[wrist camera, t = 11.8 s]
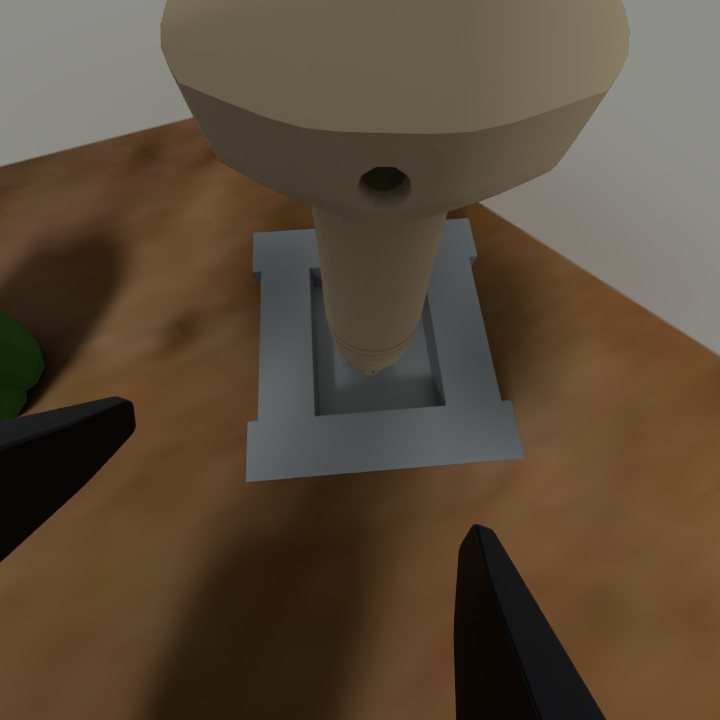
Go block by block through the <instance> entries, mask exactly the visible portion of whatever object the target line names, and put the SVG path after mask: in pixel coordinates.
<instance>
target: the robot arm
mask: <svg viewBox="0 0 720 720" xmlns="http://www.w3.org/2000/svg"><path fill="white" fill-rule="evenodd" d="M135 427H136V422H135V413H134V406H133V403H132V402H131V401H129V400H126V399H124V398H121V397H109V398H105V399H100V400H96V401H91V402H87V403H82V404H78V405H73V406H69V407H64V408H60V409H55V410H50V411H46V412H41V413H37V414H32V415H28V416H23V417H19V418H14V419H10V420H5V421H1V422H0V562H1V561H3V560H4V559H5V558H6V557H7V556H8V555H9V554H10V553H11V552H12V551H13V550H15V549H16V548H17V547H18V546H19V545H20V544H21V543H22V542H23V541H24V540H25V539H27V538H28V537H29V536H30V535H31V534H32V533H33V532H34V531H35V530H36V529H37V528H39V527H40V526H41V525H42V524H43V523H44V522H45V521H46V520H47V519H48V518H50V517H51V516H52V515H53V514H54V513H55V512H56V511H57V510H58V509H59V508H60V507H62V506H63V505H64V504H65V503H66V502H67V501H68V500H69V499H70V498H71V497H72V496H74V495H75V494H76V493H77V492H78V491H79V490H80V489H81V488H82V487H83V486H84V485H85V484H86V483H87V482H88V481H89V480H90V479H91V478H92V477H93V476H94V475H95V474H96V473H97V472H98V471H99V470H100V469H101V467H102V466H103V465H104V464H105V463H106V462H107V461H108V460H109V459H110V458H111V457H112V456H113V455H114V453H115V452H116V451H117V450H118V449H119V448H120V447H121V446H122V445H123V444H124V443H125V442H126V440H127V439H128V438H129V437H130V436H131V435H132V434H133V432H134V430H135ZM454 665H455V698H456V720H606V718H605V717H604V715H603V713H602V712H601V710H600V708H599V707H598V705H597V703H596V702H595V700H594V698H593V697H592V695H591V693H590V692H589V690H588V688H587V687H586V685H585V683H584V681H583V680H582V678H581V676H580V675H579V673H578V671H577V670H576V668H575V666H574V665H573V663H572V661H571V660H570V658H569V656H568V655H567V653H566V651H565V650H564V648H563V646H562V645H561V643H560V641H559V640H558V638H557V636H556V635H555V633H554V631H553V630H552V628H551V626H550V624H549V623H548V621H547V619H546V618H545V616H544V614H543V613H542V611H541V609H540V608H539V606H538V604H537V603H536V601H535V599H534V598H533V596H532V594H531V593H530V591H529V589H528V588H527V586H526V584H525V583H524V581H523V579H522V578H521V576H520V574H519V573H518V571H517V569H516V567H515V566H514V564H513V562H512V561H511V559H510V557H509V556H508V554H507V552H506V551H505V549H504V547H503V546H502V544H501V542H500V541H499V539H498V537H497V536H496V534H495V532H494V531H493V530H492V529H490V528H487V527H485V526H482V525H479V524H474V525H473V526H472V527H471V528H470V530H469V532H468V533H467V535H466V537H465V538H464V540H463V542H462V543H461V546H460V549H459V555H458V569H457V583H456V598H455V612H454Z"/></svg>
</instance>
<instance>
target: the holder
mask: <svg viewBox="0 0 720 720" xmlns="http://www.w3.org/2000/svg"><path fill="white" fill-rule="evenodd" d="M476 258H477V252H476V248H475V244H474V240H473V235H472V231H471V227H470V223H469V218H463V219H449V220H445V224H444V227H443V231H442V235H441V238H440V242H439V246H438V249H437V253H436V257H435V260H434V264H433V268H432V271H431V276H430V280H429V284H428V288H427V292H426V297H425V301H424V305H423V309H422V314H421V317H420V321H419V324H418V326H417V329H416V331H415V334H414V336H413V338H412V340H411V342H410V343H409V345H408V347H407V348H406V350H405V351H404V353H403V354H402V355H401V356H400V358H399V360H398V361H397V363H396V364H395V365H394V366H393V367H387V368H386V369H383V370H381V371H379V372H378V373H377V375H376V376H374V377H366V376H364V375H363V373H362V372H361V371H360V370H359V369H358V368H355V367H354V366H351V365H347V364H346V363H345V361H344V360H343V358H342V356H341V353H340V352H339V350H338V348H337V346H336V344H335V342H334V340H333V338H332V335H331V333H330V330H329V326H328V322H327V317H326V313H325V305H324V296H323V287H322V278H321V269H320V261H319V254H318V247H317V241H316V234H315V229H303V230H288V231H273V232H259V233H254V239H253V271H252V272H253V274H254V276H255V278H256V279H257V281H258V283H259V285H260V287H261V306H260V353H259V400H258V421H251V422H248V429H247V461H246V482H252V481H264V480H275V479H287V478H299V477H310V476H322V475H334V474H345V473H357V472H369V471H380V470H392V469H404V468H415V467H427V466H439V465H450V464H462V463H474V462H485V461H497V460H508V459H520V458H525V456H524V451H523V447H522V443H521V439H520V434H519V430H518V426H517V422H516V417H515V413H514V409H513V405H512V400H508V401H501V397H500V392H499V388H498V383H497V379H496V375H495V370H494V366H493V361H492V357H491V352H490V348H489V344H488V339H487V335H486V330H485V326H484V321H483V317H482V313H481V308H480V304H479V299H478V295H477V290H476V286H475V282H474V277H473V273H472V268H471V267H472V265H473V263H474V261H475V260H476Z"/></svg>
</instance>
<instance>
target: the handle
mask: <svg viewBox="0 0 720 720" xmlns="http://www.w3.org/2000/svg"><path fill="white" fill-rule="evenodd" d="M628 47H629V27H628V22H627V16H626V11H625V8H624V5H623V3H622V1H621V0H167V2H166V5H165V10H164V13H163V18H162V22H161V49H162V51H163V53H164V56H165V59H166V62H167V64H168V67H169V69H170V71H171V73H172V75H173V77H174V79H175V80H176V83H177V85H178V87H179V89H180V91H181V93H182V95H183V97H184V99H185V101H186V103H187V105H188V107H189V109H190V111H191V113H192V115H193V117H194V119H195V121H196V123H197V125H198V126H199V128H200V130H201V132H202V134H203V135H204V137H205V139H206V140H207V142H208V143H209V145H210V147H211V148H212V150H213V151H214V153H215V155H216V156H217V158H218V159H219V160H220V161H221V163H223V164H225V165H227V166H229V167H230V168H232V169H234V170H236V171H237V172H239V173H241V174H243V175H245V176H247V177H249V178H250V179H252V180H254V181H256V182H258V183H260V184H262V185H264V186H266V187H268V188H270V189H272V190H274V191H277V192H279V193H281V194H283V195H285V196H288V197H290V198H292V199H294V200H297V201H300V202H302V203H305V204H307V205H310V206H311V207H312V213H313V220H314V227H315V234H316V241H317V247H318V254H319V261H320V269H321V278H322V287H323V296H324V305H325V313H326V317H327V322H328V326H329V330H330V333H331V335H332V338H333V340H334V342H335V344H336V346H337V348H338V350H339V352H340V353H341V356H342V358H343V360H344V361H345V363H346V364H347V365H351V366H354V367H355V368H358V369H359V370H360V371H361V372H362V373H363V375H364V376H366V377H374V376H376V375H377V373H378V372H379V371H381V370H383V369H386V368H387V367H393V366H394V365H395V364H396V363H397V361H398V360H399V358H400V356H401V355H402V354H403V353H404V351H405V350H406V348H407V347H408V345H409V343H410V342H411V340H412V338H413V336H414V334H415V331H416V329H417V326H418V324H419V321H420V317H421V314H422V309H423V305H424V301H425V297H426V292H427V288H428V284H429V280H430V276H431V271H432V268H433V264H434V260H435V257H436V253H437V249H438V246H439V242H440V238H441V235H442V231H443V227H444V224H445V220H446V216H447V213H448V212H449V211H452V210H455V209H459V208H462V207H465V206H468V205H471V204H474V203H477V202H479V201H482V200H484V199H487V198H490V197H493V196H495V195H498V194H500V193H503V192H505V191H507V190H510V189H512V188H514V187H516V186H519V185H521V184H523V183H526V182H528V181H530V180H532V179H534V178H536V177H538V176H540V175H542V174H544V173H547V172H549V171H551V170H552V169H553V168H554V167H555V166H556V165H557V163H558V162H559V161H560V160H561V158H562V157H563V156H564V155H565V153H566V152H567V151H568V149H569V148H570V146H571V144H573V142H574V141H575V139H576V138H577V136H578V135H579V133H580V132H581V130H582V129H583V127H584V126H585V125H586V123H587V122H588V120H589V119H590V117H591V116H592V114H593V113H594V111H595V110H596V108H597V107H598V105H599V103H600V102H601V101H602V99H603V97H604V96H605V95H606V93H607V91H608V90H609V89H610V87H611V86H612V84H613V82H614V81H615V80H616V78H617V76H618V75H619V73H620V71H621V69H622V67H623V65H624V62H625V60H626V58H627V56H628Z"/></svg>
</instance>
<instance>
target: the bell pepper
mask: <svg viewBox="0 0 720 720" xmlns="http://www.w3.org/2000/svg"><path fill="white" fill-rule="evenodd" d="M44 368H45V364H44V360H43V357H42V353H41V349H40V347H39V344H38V342H37V340H36V339H35V338H34V337H33V336H32V335H30V334H29V333H28V332H27V331H26V330H25V329H23V328H22V327H21V326H20V325H18V324H17V323H16V322H14V321H13V320H12V319H10V318H9V317H7V316H6V315H5V314H3V313H2V312H1V311H0V422H1V421H5V420H10V419H14V418H16V417H17V416H18V414H19V412H20V411H21V409H22V408H23V406H24V405H25V403H26V402H27V390H29V389H30V388H32V387H33V386H34V385H36V384H37V382H38V380H39V378H40V376H41V374H42V372H43V370H44Z"/></svg>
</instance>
